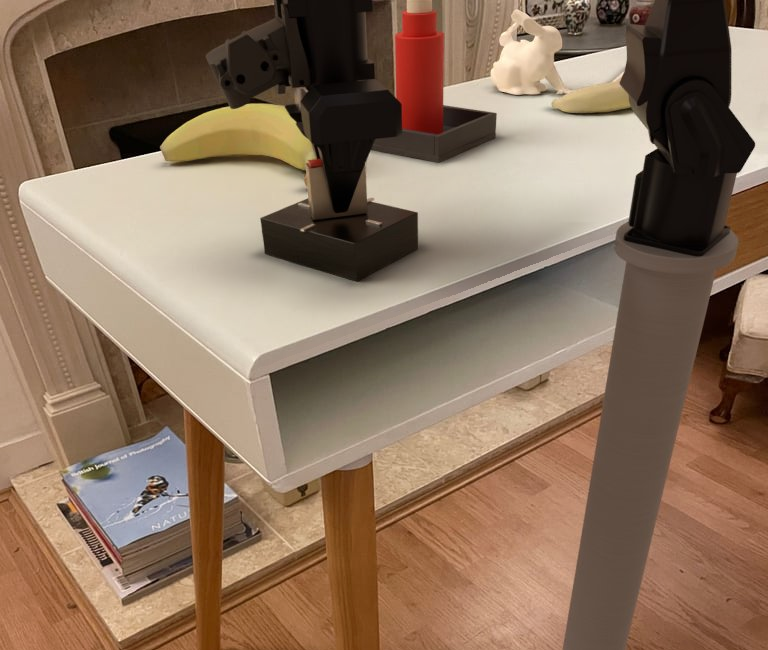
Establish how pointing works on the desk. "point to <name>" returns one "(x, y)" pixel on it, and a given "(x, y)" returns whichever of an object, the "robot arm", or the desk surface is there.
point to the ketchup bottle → (420, 68)
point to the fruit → (594, 99)
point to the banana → (240, 136)
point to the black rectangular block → (341, 238)
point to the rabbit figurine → (528, 59)
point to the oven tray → (443, 136)
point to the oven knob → (320, 195)
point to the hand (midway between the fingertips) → (338, 208)
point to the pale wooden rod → (618, 78)
